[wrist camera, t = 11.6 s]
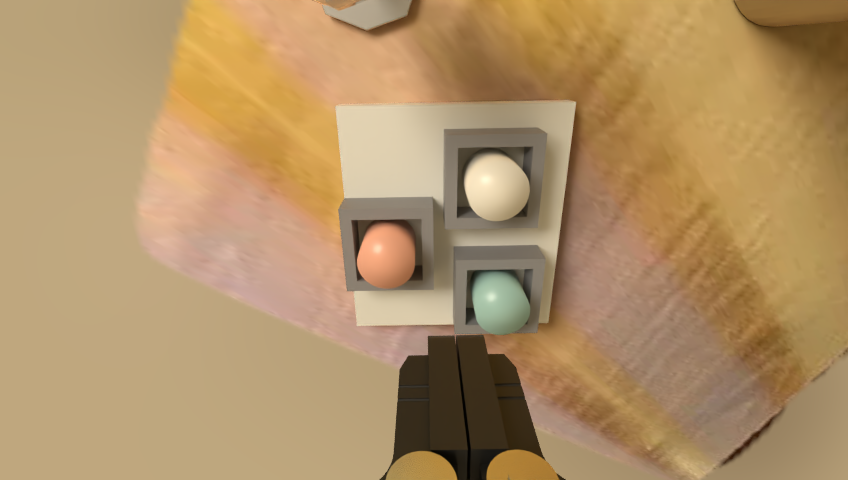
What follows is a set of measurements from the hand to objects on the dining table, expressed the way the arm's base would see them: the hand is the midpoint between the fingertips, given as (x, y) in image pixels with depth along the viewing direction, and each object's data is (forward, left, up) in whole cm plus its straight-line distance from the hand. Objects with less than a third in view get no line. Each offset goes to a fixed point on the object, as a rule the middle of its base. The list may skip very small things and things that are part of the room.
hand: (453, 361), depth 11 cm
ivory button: (-5, +2, -27) cm, 27 cm away
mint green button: (-6, +13, -27) cm, 30 cm away
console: (-2, +7, -29) cm, 30 cm away
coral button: (+4, +8, -27) cm, 28 cm away
